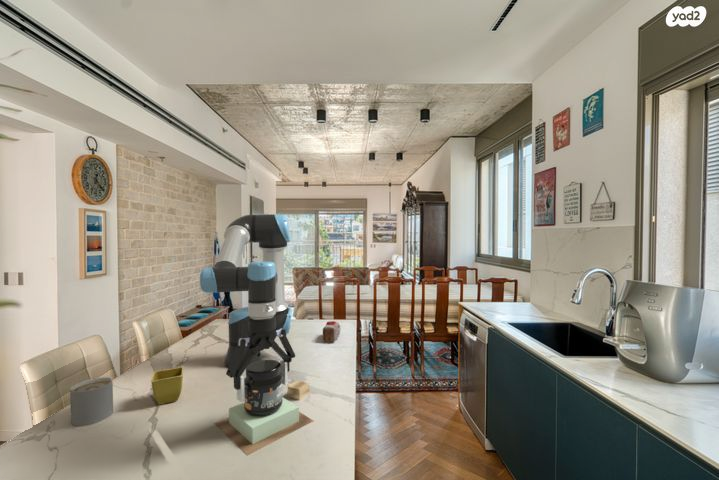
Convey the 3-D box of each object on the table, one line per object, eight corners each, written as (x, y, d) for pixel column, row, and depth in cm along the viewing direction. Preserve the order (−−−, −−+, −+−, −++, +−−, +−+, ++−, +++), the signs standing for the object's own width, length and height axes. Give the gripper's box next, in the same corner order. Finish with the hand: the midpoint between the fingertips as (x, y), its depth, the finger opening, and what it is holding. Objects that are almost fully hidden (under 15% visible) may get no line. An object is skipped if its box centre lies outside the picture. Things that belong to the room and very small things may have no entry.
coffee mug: (98, 425, 94) (97, 390, 94) (61, 427, 93) (60, 392, 93) (127, 402, 107) (126, 371, 107) (95, 403, 106) (94, 373, 106)
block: (287, 401, 106) (287, 386, 106) (297, 394, 110) (297, 380, 110) (299, 405, 103) (299, 389, 103) (309, 398, 108) (309, 383, 108)
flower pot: (151, 409, 102) (151, 381, 102) (154, 397, 110) (153, 371, 110) (183, 402, 106) (182, 375, 106) (183, 391, 114) (183, 366, 114)
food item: (327, 335, 178) (326, 317, 178) (341, 336, 177) (341, 318, 177) (321, 343, 165) (321, 324, 165) (336, 344, 164) (336, 324, 164)
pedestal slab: (228, 422, 91) (228, 408, 91) (273, 404, 101) (272, 391, 101) (252, 444, 81) (252, 428, 81) (298, 421, 91) (298, 407, 91)
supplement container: (242, 403, 94) (242, 361, 94) (279, 395, 98) (279, 356, 98) (245, 421, 84) (245, 375, 84) (285, 412, 88) (285, 369, 88)
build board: (213, 428, 91) (213, 423, 91) (276, 402, 105) (276, 397, 105) (247, 461, 77) (247, 455, 77) (313, 426, 91) (313, 420, 91)
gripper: (224, 327, 80) (225, 413, 80) (306, 310, 97) (307, 381, 97) (212, 322, 85) (213, 403, 85) (292, 307, 103) (293, 374, 103)
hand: (263, 391), depth 91 cm, fingers open, 13 cm apart
